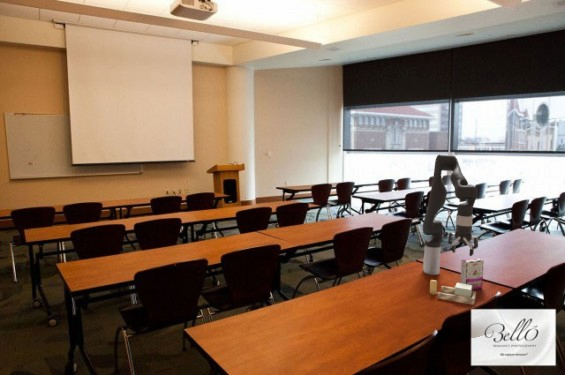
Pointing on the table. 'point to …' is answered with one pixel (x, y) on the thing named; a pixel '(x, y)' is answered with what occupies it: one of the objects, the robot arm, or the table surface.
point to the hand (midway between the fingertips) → (462, 254)
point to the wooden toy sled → (455, 296)
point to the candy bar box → (472, 272)
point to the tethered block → (460, 289)
